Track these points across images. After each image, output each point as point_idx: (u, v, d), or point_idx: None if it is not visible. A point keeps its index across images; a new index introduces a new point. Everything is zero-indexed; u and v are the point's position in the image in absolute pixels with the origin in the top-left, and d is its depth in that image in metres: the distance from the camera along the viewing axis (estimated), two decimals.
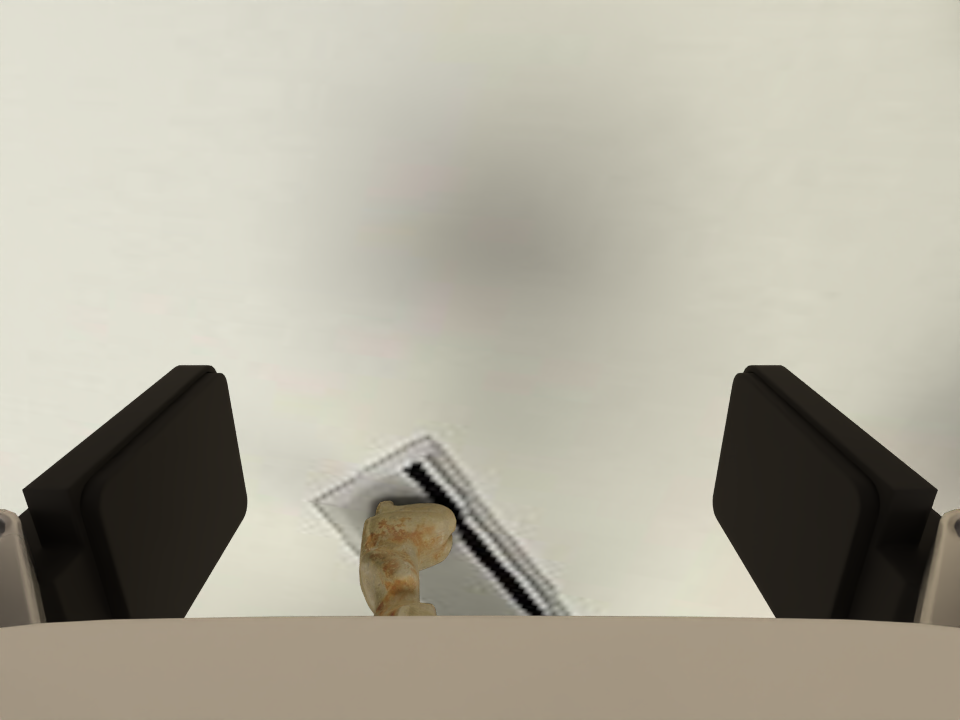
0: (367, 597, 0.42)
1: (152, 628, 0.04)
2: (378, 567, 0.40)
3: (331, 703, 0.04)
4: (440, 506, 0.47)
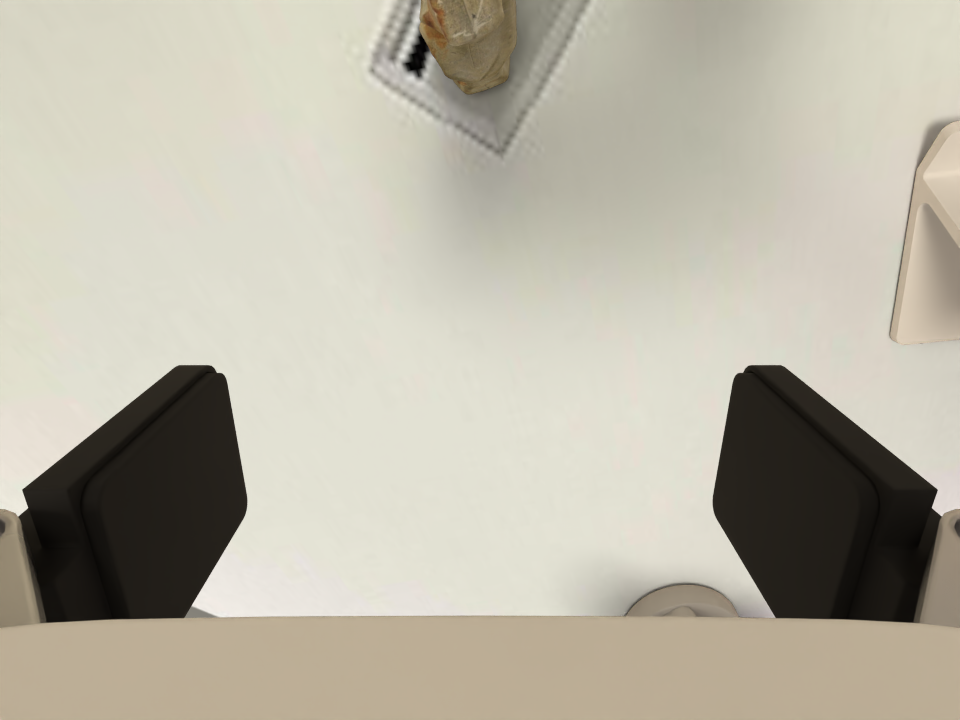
0: (496, 55, 0.36)
1: (152, 628, 0.04)
2: (440, 62, 0.36)
3: (331, 702, 0.04)
4: None
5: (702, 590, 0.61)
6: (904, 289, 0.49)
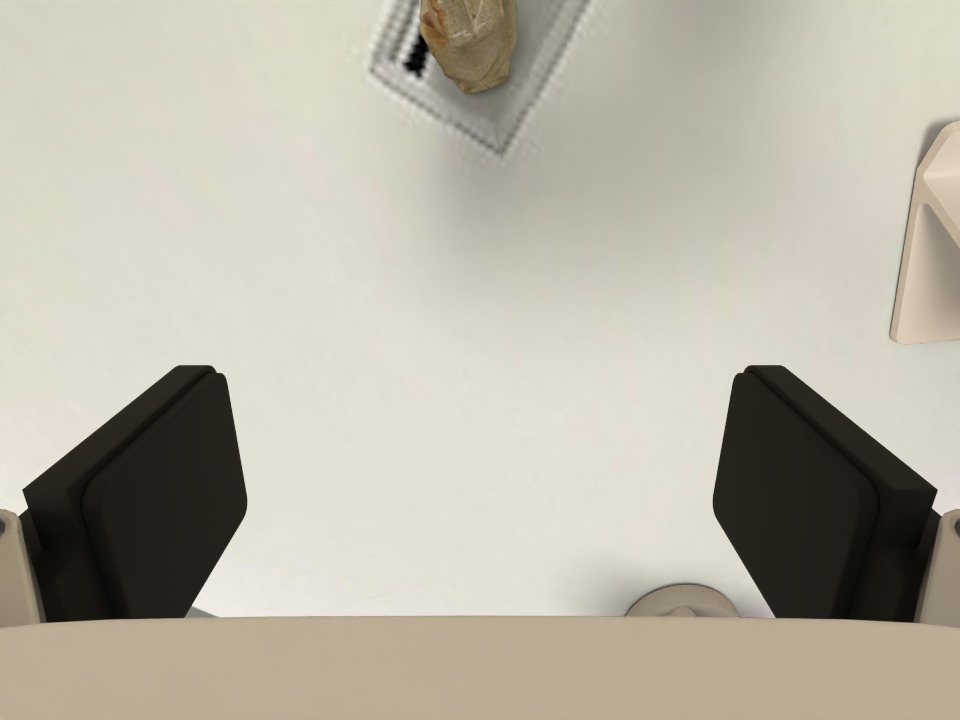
0: (496, 55, 0.36)
1: (152, 628, 0.04)
2: (440, 62, 0.36)
3: (331, 702, 0.04)
4: None
5: (702, 590, 0.61)
6: (904, 289, 0.49)
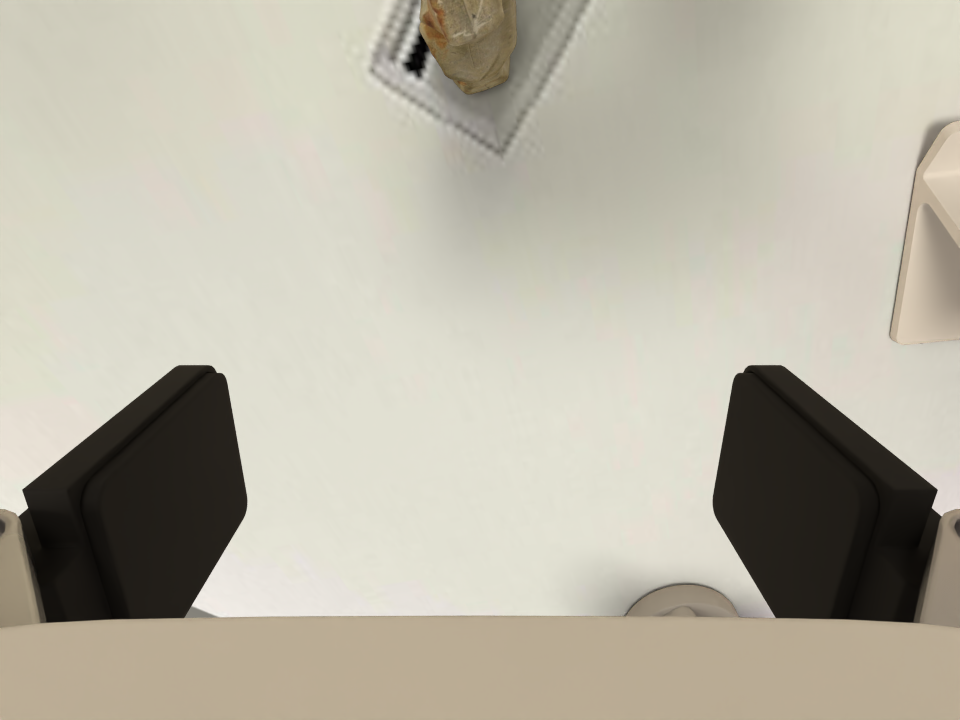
0: (496, 55, 0.36)
1: (152, 628, 0.04)
2: (440, 62, 0.36)
3: (331, 702, 0.04)
4: None
5: (702, 590, 0.61)
6: (904, 289, 0.49)
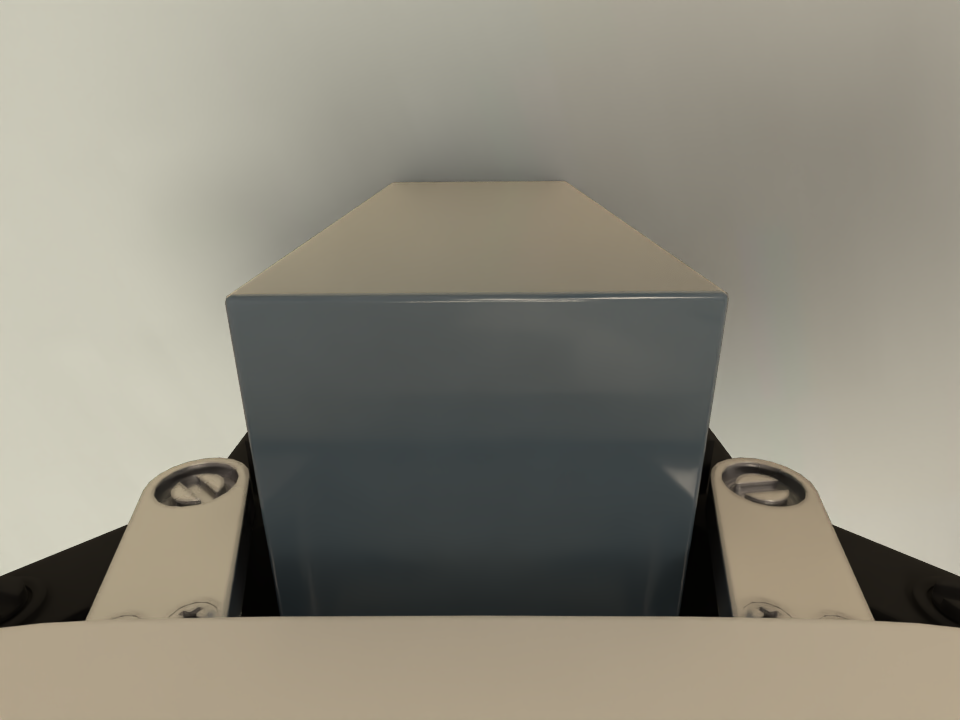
0: None
1: (152, 628, 0.04)
2: None
3: (331, 703, 0.04)
4: None
5: None
6: None
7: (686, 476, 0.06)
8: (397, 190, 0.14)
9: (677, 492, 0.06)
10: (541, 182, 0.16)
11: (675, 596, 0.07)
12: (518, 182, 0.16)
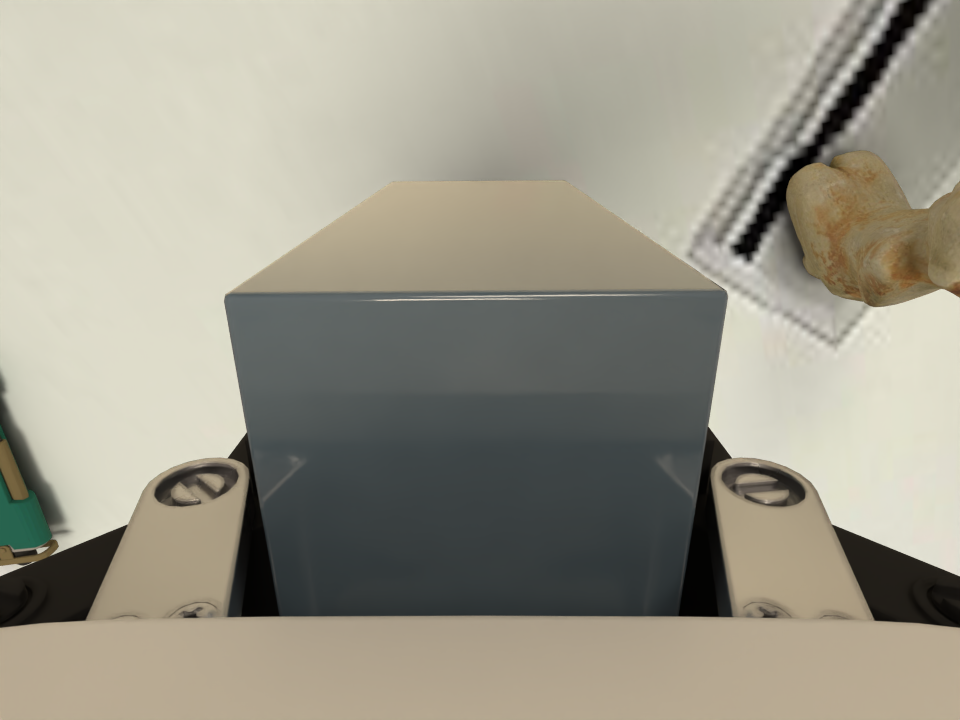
0: None
1: (152, 628, 0.04)
2: (882, 298, 0.27)
3: (331, 703, 0.04)
4: (787, 197, 0.32)
5: None
6: None
7: (685, 474, 0.06)
8: (397, 189, 0.14)
9: (678, 490, 0.06)
10: (541, 181, 0.16)
11: (673, 595, 0.07)
12: (518, 181, 0.16)
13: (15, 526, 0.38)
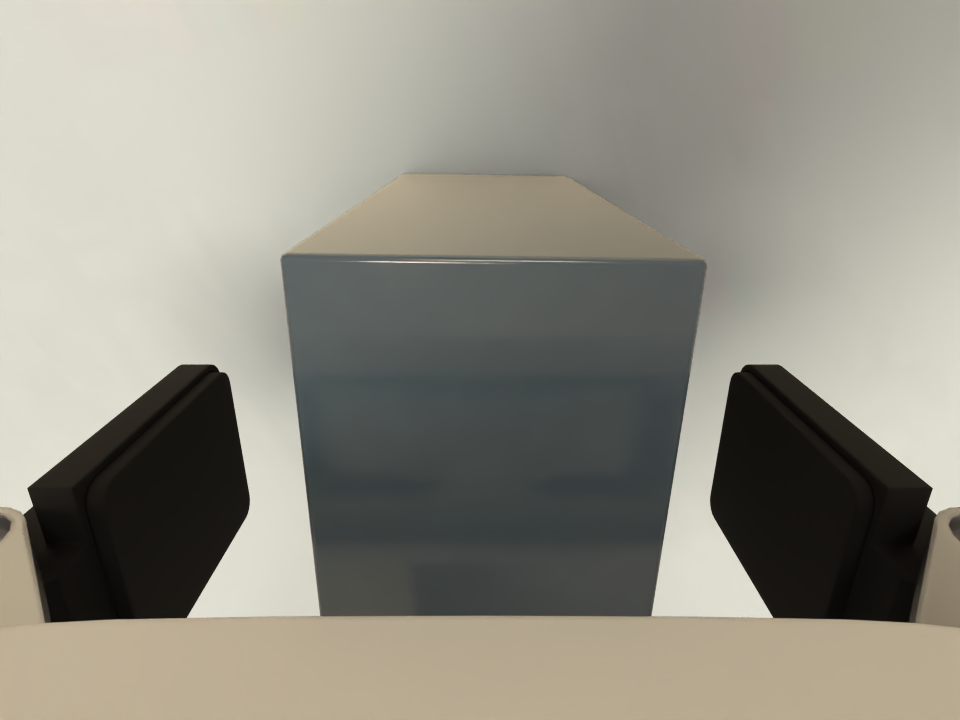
0: None
1: (152, 628, 0.04)
2: None
3: (331, 703, 0.04)
4: None
5: None
6: None
7: (669, 421, 0.07)
8: (410, 180, 0.15)
9: (662, 436, 0.07)
10: (544, 176, 0.17)
11: (657, 530, 0.08)
12: (522, 176, 0.17)
13: None
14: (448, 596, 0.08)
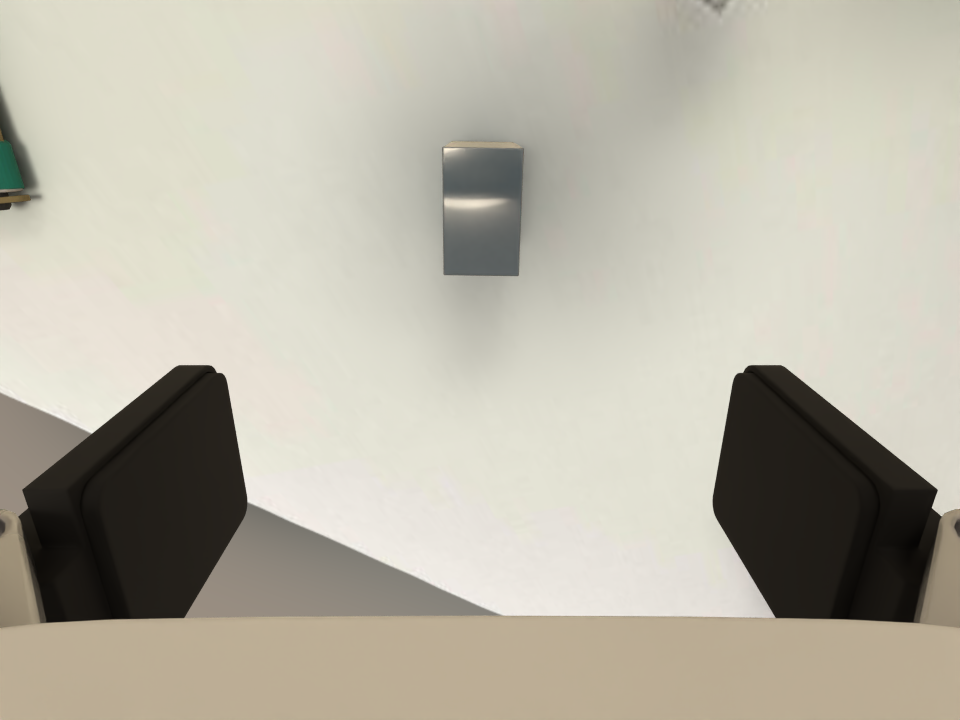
0: None
1: (152, 628, 0.04)
2: None
3: (331, 703, 0.04)
4: None
5: None
6: None
7: (519, 183, 0.35)
8: None
9: (518, 187, 0.36)
10: None
11: (519, 211, 0.36)
12: None
13: None
14: (473, 229, 0.36)
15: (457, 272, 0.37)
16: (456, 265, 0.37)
